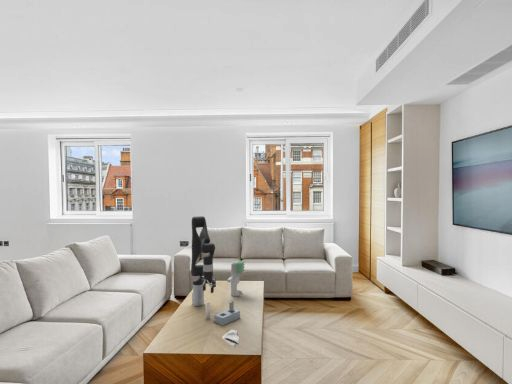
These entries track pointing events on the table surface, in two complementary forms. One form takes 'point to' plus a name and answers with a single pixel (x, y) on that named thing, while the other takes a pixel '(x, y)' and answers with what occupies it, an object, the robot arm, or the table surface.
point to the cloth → (231, 337)
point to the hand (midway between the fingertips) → (208, 291)
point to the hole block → (226, 316)
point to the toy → (235, 277)
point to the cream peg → (207, 310)
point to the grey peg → (231, 306)
